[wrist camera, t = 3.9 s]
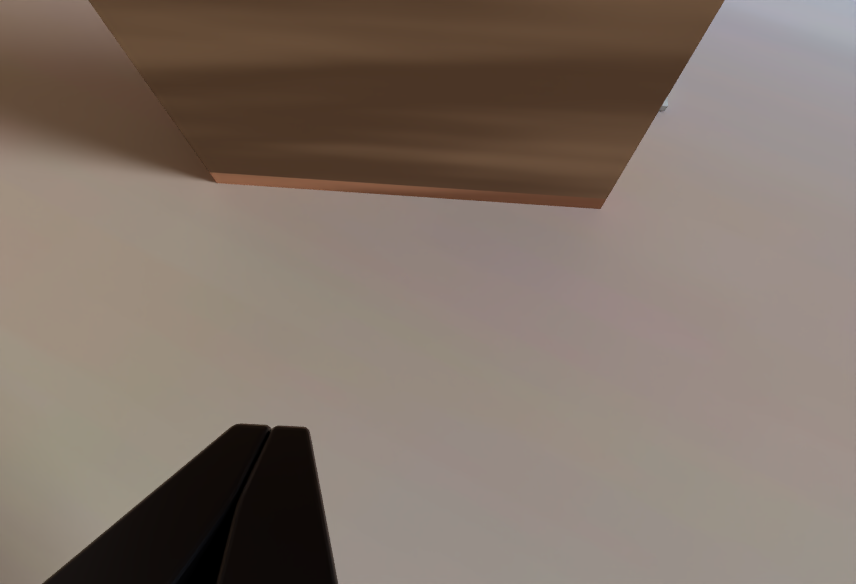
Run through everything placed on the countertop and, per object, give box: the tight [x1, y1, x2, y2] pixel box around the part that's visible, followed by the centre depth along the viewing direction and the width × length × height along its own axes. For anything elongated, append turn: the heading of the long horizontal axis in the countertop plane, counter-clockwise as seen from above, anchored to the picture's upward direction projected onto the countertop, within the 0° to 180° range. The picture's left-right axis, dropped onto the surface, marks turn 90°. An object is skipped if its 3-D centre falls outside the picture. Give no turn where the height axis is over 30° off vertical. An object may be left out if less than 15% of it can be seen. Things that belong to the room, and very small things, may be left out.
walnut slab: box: [89, 0, 724, 209], centre depth 16 cm, size 3×12×14 cm, turn 86°
